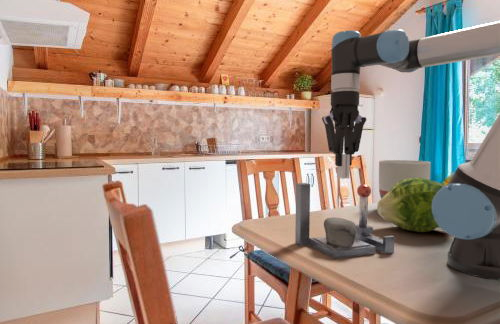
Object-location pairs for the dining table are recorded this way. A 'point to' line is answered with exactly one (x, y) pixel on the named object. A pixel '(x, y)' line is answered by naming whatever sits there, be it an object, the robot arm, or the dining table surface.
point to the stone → (340, 232)
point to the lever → (363, 210)
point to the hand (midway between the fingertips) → (343, 177)
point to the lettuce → (410, 204)
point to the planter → (400, 172)
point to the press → (359, 247)
